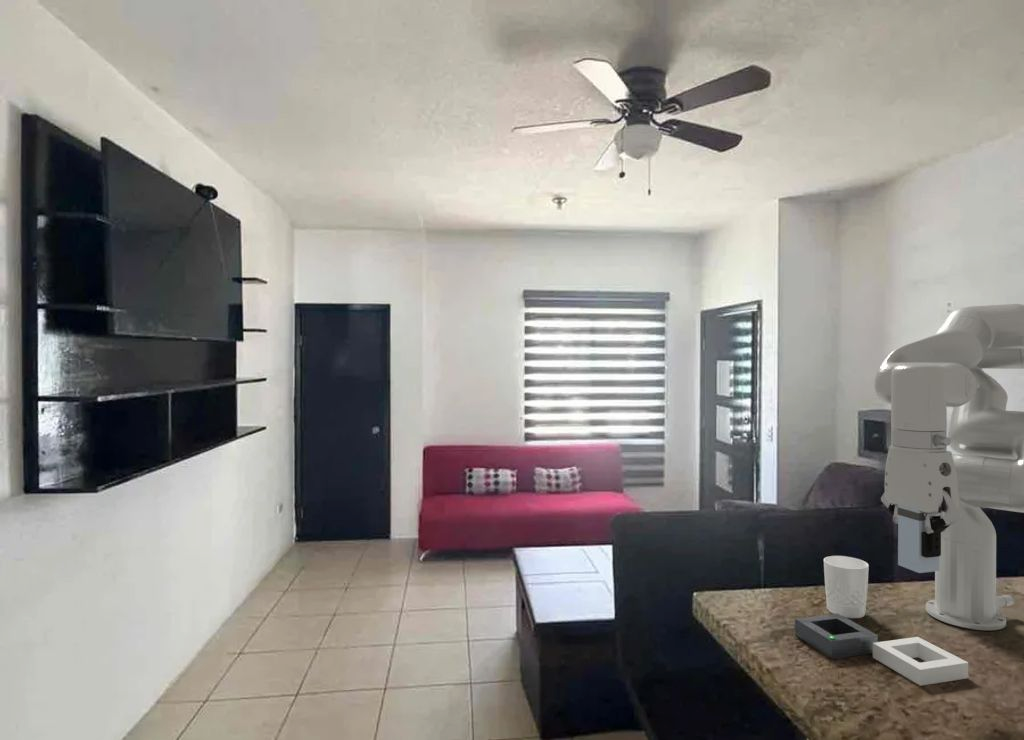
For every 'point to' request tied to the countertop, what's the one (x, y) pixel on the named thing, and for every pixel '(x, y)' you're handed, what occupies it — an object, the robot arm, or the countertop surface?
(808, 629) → the port
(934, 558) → the plug
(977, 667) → the countertop surface
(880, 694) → the countertop surface
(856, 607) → the white cup
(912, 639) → the holster
